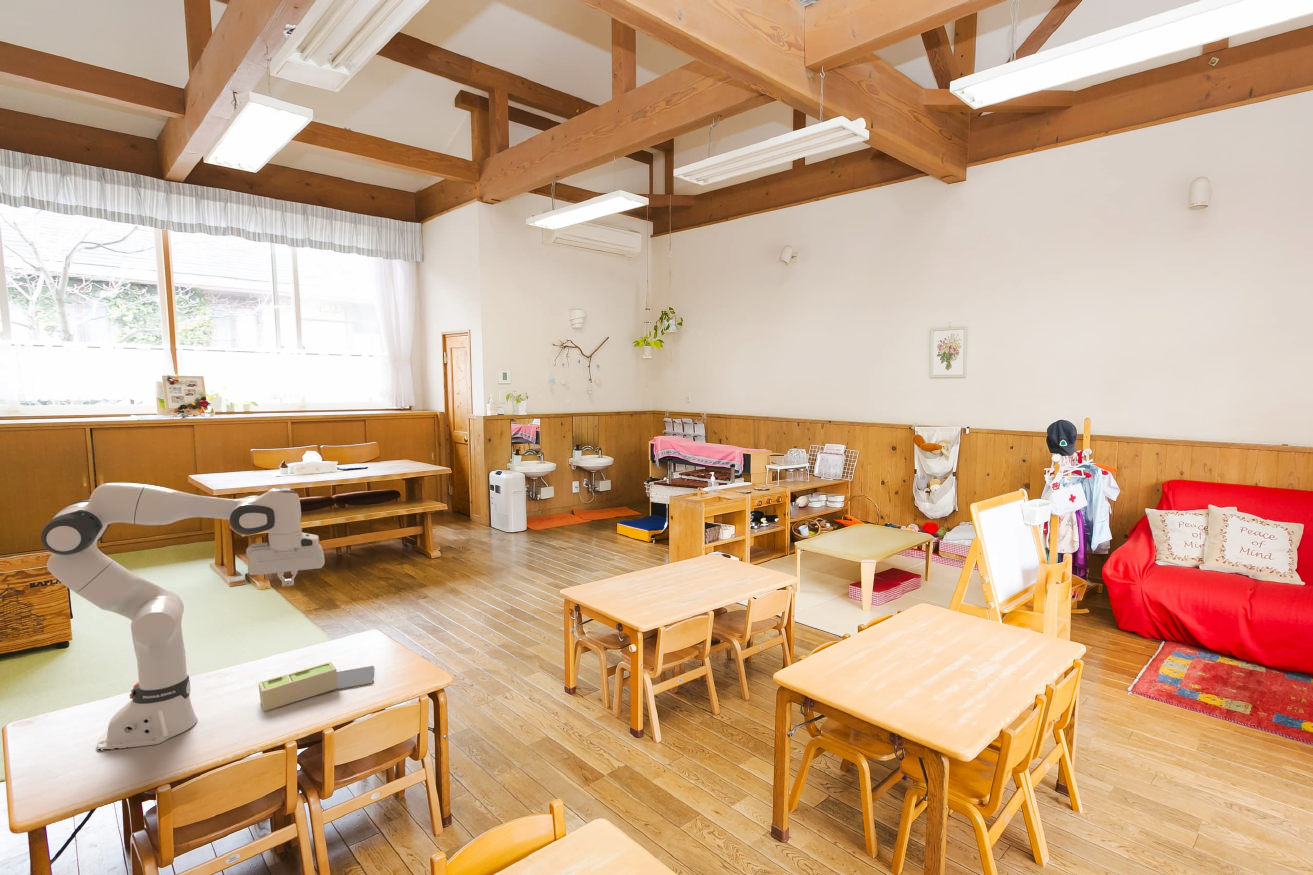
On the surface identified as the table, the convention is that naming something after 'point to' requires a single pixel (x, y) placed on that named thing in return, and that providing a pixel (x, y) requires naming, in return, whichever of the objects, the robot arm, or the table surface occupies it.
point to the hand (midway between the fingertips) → (288, 585)
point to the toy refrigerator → (297, 686)
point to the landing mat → (354, 678)
